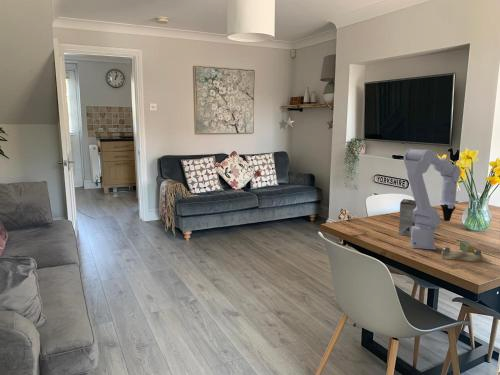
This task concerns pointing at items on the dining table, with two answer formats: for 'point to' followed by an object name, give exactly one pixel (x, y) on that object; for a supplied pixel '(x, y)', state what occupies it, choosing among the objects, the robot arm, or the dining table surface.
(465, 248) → the medication box
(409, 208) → the coffee box
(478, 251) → the bench dogs
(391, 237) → the dining table surface
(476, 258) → the bench stop
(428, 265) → the dining table surface
